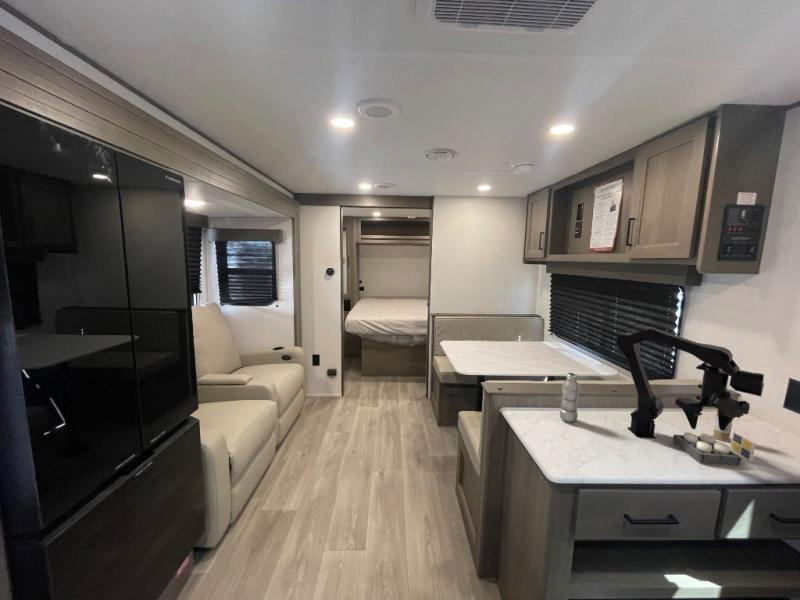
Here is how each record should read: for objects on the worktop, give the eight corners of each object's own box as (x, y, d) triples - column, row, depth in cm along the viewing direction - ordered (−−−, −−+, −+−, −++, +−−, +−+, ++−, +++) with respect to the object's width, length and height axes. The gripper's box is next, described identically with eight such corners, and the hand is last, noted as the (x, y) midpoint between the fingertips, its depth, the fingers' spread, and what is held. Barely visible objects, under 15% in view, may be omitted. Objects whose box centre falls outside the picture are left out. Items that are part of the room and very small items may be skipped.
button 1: (688, 444, 108) (689, 437, 108) (680, 438, 111) (681, 432, 111) (700, 445, 108) (701, 438, 107) (691, 439, 111) (692, 432, 111)
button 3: (705, 445, 107) (706, 438, 107) (696, 439, 111) (697, 433, 111) (717, 446, 107) (718, 439, 107) (707, 440, 111) (708, 433, 110)
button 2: (702, 453, 103) (703, 447, 102) (693, 447, 106) (694, 440, 106) (714, 454, 102) (715, 448, 102) (704, 448, 106) (705, 441, 105)
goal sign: (749, 462, 102) (753, 443, 101) (729, 449, 109) (732, 431, 108) (752, 462, 102) (755, 443, 101) (731, 449, 109) (734, 431, 108)
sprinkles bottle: (730, 439, 116) (736, 405, 114) (727, 443, 113) (733, 408, 111) (713, 433, 119) (718, 400, 118) (710, 437, 117) (715, 403, 115)
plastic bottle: (555, 417, 130) (559, 372, 128) (568, 415, 132) (571, 370, 130) (568, 425, 124) (571, 378, 122) (581, 423, 126) (585, 376, 124)
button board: (700, 463, 102) (701, 454, 101) (672, 442, 113) (673, 434, 113) (739, 466, 100) (741, 457, 100) (707, 444, 112) (708, 436, 112)
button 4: (720, 455, 102) (721, 448, 102) (710, 448, 106) (711, 442, 105) (732, 455, 102) (733, 449, 101) (721, 449, 105) (722, 442, 105)
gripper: (707, 395, 94) (700, 442, 96) (772, 396, 93) (763, 444, 95) (677, 380, 105) (671, 423, 107) (734, 382, 104) (727, 425, 106)
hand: (707, 429), depth 104 cm, fingers open, 9 cm apart
